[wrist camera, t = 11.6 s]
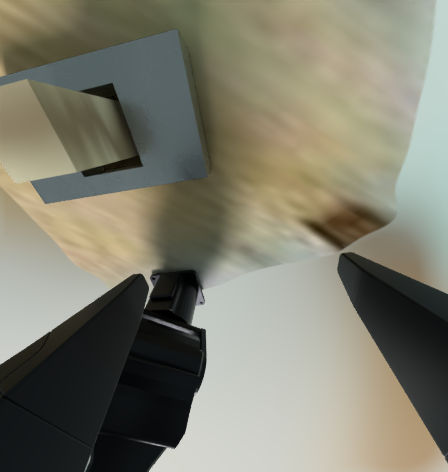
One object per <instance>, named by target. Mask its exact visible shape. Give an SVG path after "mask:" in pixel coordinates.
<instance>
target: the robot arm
mask: <svg viewBox="0 0 448 472" xmlns="http://www.w3.org/2000/svg"><path fill="white" fill-rule="evenodd" d="M338 274H339V276H340V278H341V281H342V283H343V285H344V287H345V289H346V291H347V294H348V296H349V298H350V300H351V302H352V304H353V306H354V308H355V309H356V311H357V313H358V315H359V316H360V318H361V320H362V321H363V323H364V324H365V326H366V328H367V330H368V331H369V333H370V334H371V336H372V338H373V339H374V341H375V343H376V345H377V346H378V348H379V350H380V351H381V353H382V354H383V356H384V358H385V359H386V361H387V363H388V364H389V366H390V368H391V369H392V371H393V373H394V374H395V376H396V378H397V379H398V381H399V383H400V384H401V386H402V387H403V389H404V391H405V393H406V394H407V396H408V397H409V399H410V401H411V403H412V404H413V406H414V407H415V409H416V411H417V412H418V414H419V416H420V417H421V419H422V421H423V422H424V424H425V426H426V427H427V429H428V431H429V432H430V434H431V436H432V437H433V439H434V441H435V442H436V444H437V446H438V447H439V449H440V451H441V452H442V454H443V455H444V456H445V459H446V461H447V463H448V294H446V293H444V292H442V291H439V290H437V289H435V288H433V287H430V286H428V285H426V284H423V283H421V282H419V281H417V280H414V279H412V278H410V277H407V276H405V275H403V274H401V273H398V272H396V271H394V270H391V269H389V268H387V267H384V266H382V265H380V264H378V263H375V262H373V261H371V260H369V259H366V258H364V257H362V256H359V255H357V254H355V253H352V252H349V253H342V254H340V257H339V263H338ZM153 277H154V278H153ZM150 280H151V282H152V284H153V286H154V288H153V290H152V292H151V294H150V296H149V298H150V299H149V301H148V303H147V305H146V307H145V303H146V299H147V295H148V292H149V286H148V284H147V282H146V280H145V278H144V276H143V275H142V274H133V275H131V276H130V277H128V278H127V279H125V280H124V281H123V282H121V283H120V284H118V285H117V286H115V287H114V288H112V289H111V290H110V291H108V292H107V293H105V294H104V295H102V296H101V297H99V298H98V299H96V300H95V301H94V302H92V303H91V304H89V305H88V306H86V307H85V308H84V309H82V310H81V311H79V312H78V313H76V314H75V315H73V316H72V317H70V318H69V319H68V320H66V321H65V322H63V323H62V324H60V325H59V326H57V327H56V328H55V329H53V330H52V331H51V332H49V333H47V334H46V335H44V336H43V337H41V338H40V339H38V340H37V341H35V342H34V343H32V344H31V345H30V346H28V347H27V348H25V349H24V350H22V351H21V352H19V353H18V354H16V355H14V356H13V357H11V358H10V359H8V360H7V361H5V362H4V363H2V364H1V365H0V472H149V470H150V469H151V467H152V466H153V465H154V464H155V462H156V461H157V460H158V458H159V457H160V456H161V455H162V453H163V452H164V451H165V449H166V448H171V449H175V448H176V446H177V445H178V444H179V442H180V440H181V439H182V437H183V435H184V434H185V431H186V427H187V422H188V417H189V413H190V409H191V404H192V401H193V397H194V395H196V393H197V392H198V390H199V388H200V386H201V383H202V380H203V377H204V373H205V368H206V330H205V329H202V328H201V329H200V328H197V327H194V326H192V325H191V323H192V319H193V314H194V310H195V305H203V304H204V303H205V300H204V296H203V293H202V290H201V287H200V284H199V281H198V277H197V274H196V272H195V271H194V270H188V271H178V272H168V273H159V274H152V275H151V277H150ZM144 307H145V309H144Z"/></svg>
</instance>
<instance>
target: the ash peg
mask: <svg viewBox="0 0 448 472" xmlns="http://www.w3.org/2000/svg"><path fill="white" fill-rule="evenodd" d="M135 156H139V154H138V151H137V148H136V145H135V143H134V140H133V137H132V134H131V132H130V129H129V126H128V123H127V121H126V118H125V115H124V112H123V110H122V107H121V104H120V102H119V101H115V100H111V99H107V98H103V97H99V96H94V95H90V94H86V93H82V92H78V91H74V90H70V89H66V88H62V87H57V86H53V85H49V84H45V83H41V82H37V81H33V80H29V79H25V80H21V81H17V82H14V83H10V84H6V85H2V86H0V163H1V165H2V166H3V167H4V169H5V170H6V172H7V173H8V174H9V176H10V177H11V178H12V180H13V181H14V183H15V184H17V183H22V182H28V181H33V180H38V179H44V178H49V177H54V176H60V175H65V174H71V173H76V172H80V171H84V170H87V169H91V168H95V167H98V166H102V165H106V164H109V163H113V162H117V161H120V160H124V159H128V158H131V157H135Z"/></svg>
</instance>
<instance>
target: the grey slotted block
mask: <svg viewBox="0 0 448 472" xmlns="http://www.w3.org/2000/svg"><path fill="white" fill-rule="evenodd" d="M25 79H29V80H33V81H37V82H41V83H45V84H49V85H53V86H57V87H62V88H66V89H70V90H74V91H78V92H82V93H86V94H90V95H94V96H99V97H103V98H104V97H108V96H112V95H117V96H118V99H119V101H120V104H121V107H122V110H123V112H124V115H125V118H126V121H127V123H128V126H129V129H130V132H131V134H132V137H133V140H134V143H135V145H136V148H137V151H138V154H139V156H140V159H141V162H142V164H139V165H133V166H128V167H122V168H117V169H111V170H106V171H105V170H104V168H103V166H98V167H95V168H91V169H87V170H84V171H80V172H76V173H71V174H65V175H60V176H54V177H49V178H44V179H38V180H33V181H30V182H31V184H32V185H33V186H34V188H35V189H36V191H37V192H38V194H39V195H40V197H41V198H42V200H43V201H44V203H45V204H48V203H54V202H60V201H66V200H72V199H78V198H84V197H90V196H96V195H102V194H108V193H115V192H121V191H127V190H133V189H139V188H145V187H151V186H157V185H163V184H169V183H175V182H181V181H188V180H194V179H200V178H206V177H208V176H209V174H210V172H211V166H210V161H209V156H208V150H207V145H206V140H205V135H204V130H203V125H202V119H201V114H200V109H199V104H198V99H197V94H196V88H195V83H194V78H193V73H192V68H191V63H190V57H189V52H188V47H187V46H186V44H185V42H184V40H183V39H182V37H181V35H180V33H179V32H178V30H177V29H174V30H171V31H167V32H163V33H160V34H156V35H152V36H149V37H145V38H141V39H138V40H134V41H130V42H127V43H123V44H119V45H116V46H112V47H108V48H105V49H101V50H97V51H94V52H90V53H86V54H83V55H79V56H75V57H72V58H68V59H64V60H61V61H57V62H53V63H50V64H46V65H42V66H39V67H35V68H31V69H28V70H24V71H20V72H17V73H13V74H9V75H6V76H2V77H0V86H2V85H6V84H10V83H14V82H17V81H21V80H25Z"/></svg>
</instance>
